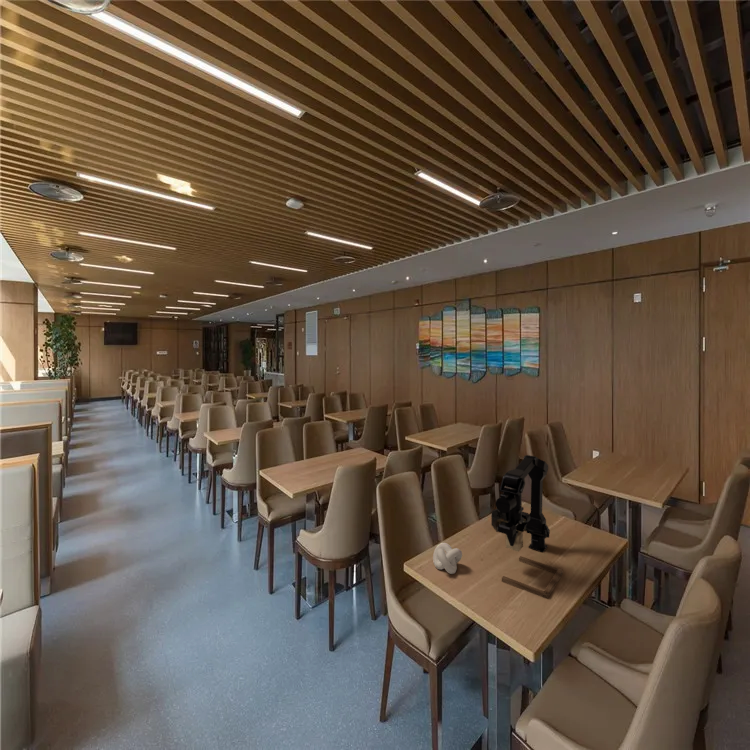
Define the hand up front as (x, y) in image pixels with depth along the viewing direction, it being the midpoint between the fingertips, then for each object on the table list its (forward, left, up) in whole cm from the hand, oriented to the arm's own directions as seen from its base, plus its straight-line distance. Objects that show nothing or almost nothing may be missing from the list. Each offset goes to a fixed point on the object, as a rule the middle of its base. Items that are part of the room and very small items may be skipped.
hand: (514, 543), depth 147 cm
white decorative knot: (+15, -23, -12) cm, 30 cm away
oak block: (0, 0, -2) cm, 2 cm away
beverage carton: (-38, -15, -12) cm, 42 cm away
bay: (0, +6, -11) cm, 13 cm away
